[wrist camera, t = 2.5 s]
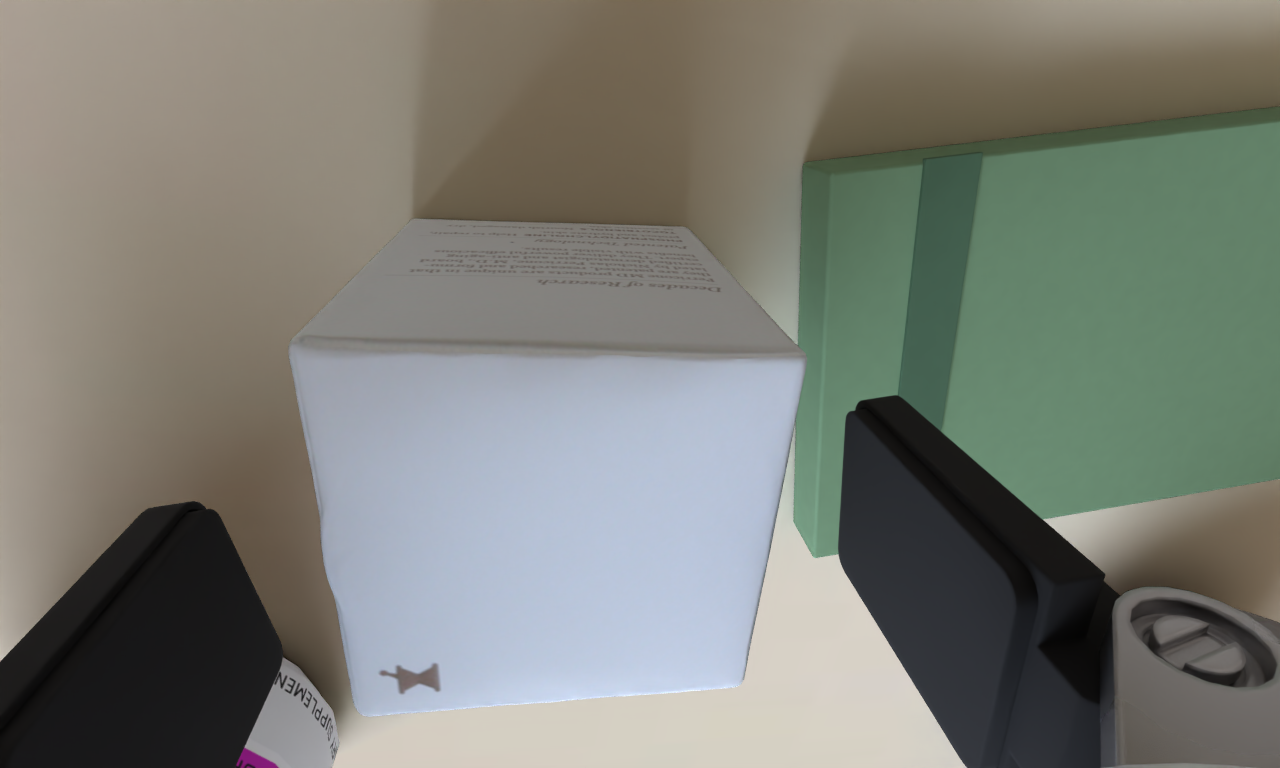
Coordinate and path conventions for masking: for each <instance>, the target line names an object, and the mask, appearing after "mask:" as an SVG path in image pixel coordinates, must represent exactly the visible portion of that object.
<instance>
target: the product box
mask: <svg viewBox="0 0 1280 768" xmlns="http://www.w3.org/2000/svg"><path fill="white" fill-rule="evenodd" d="M288 350H289V360H290V364H291V369H292V373H293V379H294V384H295V390H296V395H297V401H298V406H299V411H300V416H301V421H302V426H303V431H304V436H305V442H306V446H307V451H308V456H309V461H310V466H311V470H312V475H313V481H314V487H315V493H316V499H317V504H318V509H319V516H320V523H321V547H322V554H323V561H324V567H325V571H326V575H327V579H328V581H329V584H330V587H331V589H332V592H333V594H334V597H335V602H336V608H337V613H338V619H339V625H340V631H341V636H342V642H343V648H344V653H345V659H346V664H347V670H348V675H349V680H350V685H351V692H352V698H353V703H354V705H355V707H356V709H357V710H358V712H359V713H360V714H361V715H364V716H383V715H392V714H404V713H419V712H431V711H442V710H455V709H468V708H477V707H488V706H501V705H514V704H530V703H545V702H558V701H568V700H578V699H590V698H601V697H615V696H632V695H645V694H660V693H676V692H685V691H697V690H709V689H720V688H732V687H736V686H739V685H740V684H741V683H742V681H743V680H744V676H745V671H746V666H747V660H748V655H749V649H750V644H751V639H752V634H753V630H754V625H755V620H756V615H757V611H758V606H759V601H760V596H761V591H762V587H763V582H764V577H765V572H766V567H767V562H768V558H769V553H770V548H771V543H772V538H773V533H774V528H775V522H776V517H777V512H778V507H779V502H780V497H781V492H782V487H783V482H784V477H785V472H786V467H787V462H788V457H789V452H790V447H791V442H792V436H793V431H794V426H795V421H796V415H797V410H798V405H799V400H800V394H801V389H802V385H803V380H804V375H805V371H806V365H807V357H806V354H805V352H804V351H803V350H802V349H801V348H800V347H799V346H798V345H797V344H795V343H794V342H793V341H792V340H791V339H790V338H789V337H788V336H787V334H786V333H785V332H784V331H783V330H782V329H781V328H780V327H779V326H778V325H777V324H776V323H775V321H774V320H773V319H772V318H771V317H770V316H769V315H768V314H767V313H766V311H765V310H764V309H763V308H762V307H761V306H760V305H759V304H758V303H757V302H756V301H755V300H754V299H753V297H752V296H751V295H750V294H749V293H748V292H747V291H746V290H745V289H744V288H743V287H742V286H741V284H740V283H739V282H738V281H737V280H736V279H735V278H734V277H733V276H732V275H731V273H730V272H729V271H728V270H727V269H726V268H725V267H724V266H723V265H722V264H721V263H720V262H719V261H718V259H717V258H716V257H715V256H714V255H713V254H712V253H711V252H710V251H709V250H708V249H707V248H706V247H705V245H704V244H703V243H702V242H701V241H700V240H699V239H698V238H697V237H696V236H695V235H694V233H693V232H692V231H691V230H690V229H688V228H686V227H680V226H677V227H676V226H645V225H613V224H580V223H540V222H500V221H474V220H445V219H411V220H410V221H409V222H408V224H407V225H406V226H405V227H404V228H403V229H402V230H400V231H399V232H398V233H397V235H396V236H395V237H394V238H393V239H392V240H390V241H389V242H388V243H387V244H386V245H385V246H384V247H383V248H382V249H381V250H380V251H379V253H377V254H376V255H375V256H374V257H373V258H372V259H371V260H370V261H369V262H368V263H367V264H366V266H364V267H363V268H362V269H361V270H360V271H359V272H358V273H357V275H356V276H355V277H353V278H352V279H351V280H350V281H349V282H348V283H347V284H346V285H345V286H344V287H343V288H342V290H341V291H340V292H339V293H338V294H336V295H335V296H334V297H333V299H332V300H331V301H330V302H329V303H328V304H327V305H326V306H325V307H324V308H323V309H322V310H321V311H320V312H319V313H318V314H317V315H316V316H315V317H314V318H313V319H312V320H311V321H310V322H309V323H308V324H306V326H305V327H304V328H303V329H302V330H301V331H299V332H298V333H297V334H296V335H295V336H294V337H293V338H292V339H291V341H290V344H289V346H288Z"/></svg>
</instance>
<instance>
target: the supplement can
mask: <svg viewBox="0 0 1280 768" xmlns="http://www.w3.org/2000/svg"><path fill="white" fill-rule="evenodd" d="M339 743H340V742H339V738H338V733H337V728H336V723H335V718H334V713H333V710H332V709H331V708H330V706H329V705H328V704H327V703H326V701H325V700H324V699H323V698H322V696H321V695H320V693H319V692H318V690H317V689H316V688H315V687H314V685H313V684H312V683H311V682H310V680H309V679H308V678H307V677H306V675H305V674H304V673H303V672H302V671H301V669H300V668H299V667H298V666H296V665H295V664H293V663H291V662H290V661H288V660H287V659H285V658H283V659H282V665H281V668H280V671H279V673H278V675H277V677H276V679H275V682H274V684H273V686H272V688H271V690H270V692H269V695H268V697H267V699H266V701H265V703H264V706H263V708H262V710H261V712H260V714H259V717H258V719H257V721H256V723H255V725H254V727H253V730H252V732H251V734H250V736H249V738H248V741H247V743H246V745H245V747H244V749H243V752H242V754H241V756H240V758H239V760H238V762H237V765H236V767H235V768H332V766H333V763H334V760H335V756H336V753H337V750H338V747H339Z"/></svg>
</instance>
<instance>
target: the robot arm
mask: <svg viewBox="0 0 1280 768" xmlns="http://www.w3.org/2000/svg"><path fill="white" fill-rule="evenodd" d="M838 553H839V558H840V562H841V565H842V567H843V569H844V571H845V573H846V575H847V576H848V578H849V580H850V581H851V583H852V584H853V586H854V588H855V589H856V591H857V592H858V594H859V596H860V597H861V599H862V601H863V602H864V604H865V605H866V607H867V609H868V610H869V612H870V613H871V615H872V617H873V618H874V620H875V622H876V623H877V625H878V626H879V628H880V630H881V631H882V633H883V635H884V636H885V638H886V639H887V641H888V643H889V644H890V646H891V647H892V649H893V651H894V652H895V654H896V656H897V657H898V659H899V660H900V662H901V664H902V665H903V667H904V668H905V670H906V672H907V673H908V675H909V677H910V678H911V680H912V681H913V683H914V685H915V686H916V688H917V689H918V691H919V693H920V694H921V696H922V698H923V699H924V701H925V702H926V704H927V706H928V707H929V709H930V710H931V712H932V714H933V715H934V717H935V719H936V720H937V722H938V723H939V725H940V727H941V728H942V730H943V731H944V733H945V735H946V736H947V738H948V740H949V741H950V743H951V744H952V746H953V748H954V749H955V751H956V753H957V754H958V756H959V757H960V759H961V760H962V762H963V763H964V764H965V766H966V767H967V768H1280V640H1279V639H1278V638H1277V637H1276V636H1275V635H1274V634H1273V633H1272V632H1271V631H1270V630H1269V629H1267V628H1266V627H1264V626H1263V625H1261V624H1260V623H1258V622H1257V621H1255V620H1254V619H1252V618H1251V617H1249V616H1248V615H1247V614H1245V613H1243V612H1241V611H1239V610H1237V609H1235V608H1233V607H1231V606H1229V605H1227V604H1225V603H1223V602H1221V601H1218V600H1215V599H1212V598H1210V597H1207V596H1204V595H1201V594H1198V593H1195V592H1192V591H1186V590H1181V589H1175V588H1170V587H1141V588H1138V589H1134V590H1130V591H1126V592H1125V593H1124V594H1123V595H1122V596H1120V595H1119V594H1118V593H1116V592H1115V591H1114V590H1113V589H1112V588H1111V587H1110V586H1109V585H1107V584H1106V583H1105V582H1104V578H1105V573H1104V572H1102V571H1101V570H1100V569H1099V568H1098V567H1097V566H1095V565H1094V564H1093V563H1092V562H1091V561H1090V560H1089V559H1087V558H1086V557H1085V556H1084V555H1083V554H1082V553H1080V552H1079V551H1078V550H1077V549H1076V548H1075V547H1074V546H1072V545H1071V544H1070V543H1069V542H1068V541H1067V540H1066V539H1064V538H1063V537H1062V536H1061V535H1060V534H1059V533H1057V532H1056V531H1055V530H1054V529H1053V528H1052V527H1051V526H1049V525H1048V524H1047V523H1046V522H1045V521H1044V520H1042V519H1041V518H1040V517H1039V516H1038V515H1037V514H1036V513H1034V512H1033V511H1032V510H1031V509H1030V508H1029V507H1027V506H1026V505H1025V504H1024V503H1023V502H1022V501H1021V500H1019V499H1018V498H1017V497H1016V496H1015V495H1014V494H1012V493H1011V492H1010V491H1009V490H1008V489H1007V488H1006V487H1004V486H1003V485H1002V484H1001V483H1000V482H999V481H998V480H996V479H995V478H994V477H993V476H992V475H991V474H989V473H988V472H987V471H986V470H985V469H984V468H983V467H981V466H980V465H979V464H978V463H977V462H976V461H974V460H973V459H972V458H971V457H970V456H969V455H968V454H966V453H965V452H964V451H963V450H962V449H961V448H959V447H958V446H957V445H956V444H955V443H954V442H953V441H951V440H950V439H949V438H948V437H947V436H946V435H945V434H943V433H942V432H941V431H940V430H939V429H938V428H936V427H935V426H934V425H933V424H932V423H931V422H930V421H928V420H927V419H926V418H925V417H924V416H923V415H921V414H920V413H919V412H918V411H917V410H916V409H915V408H913V407H912V406H911V405H910V404H909V403H908V402H906V401H905V400H904V399H903V398H902V397H900V396H898V395H893V396H886V397H879V398H873V399H866V400H861V401H859V402H858V403H857V406H856V408H855V411H850V412H848V413H847V416H846V420H845V435H844V452H843V469H842V486H841V503H840V520H839V537H838ZM282 659H283V650H282V645H281V642H280V639H279V637H278V635H277V633H276V631H275V629H274V627H273V625H272V623H271V621H270V619H269V617H268V615H267V613H266V610H265V608H264V606H263V604H262V602H261V600H260V598H259V596H258V594H257V592H256V590H255V588H254V586H253V584H252V581H251V579H250V577H249V575H248V573H247V571H246V569H245V567H244V565H243V563H242V561H241V559H240V557H239V555H238V553H237V550H236V548H235V546H234V544H233V542H232V540H231V538H230V536H229V534H228V532H227V530H226V528H225V526H224V524H223V522H222V519H221V518H220V516H219V514H218V513H217V512H216V511H214V510H211V509H206V508H205V506H203V505H202V504H201V503H199V502H195V501H192V502H185V503H179V504H172V505H165V506H159V507H153V508H149V509H147V510H145V511H144V512H143V513H141V514H140V515H139V516H138V517H137V519H136V520H135V521H134V522H133V523H132V524H131V525H130V526H129V527H128V528H127V529H126V530H125V531H124V532H123V533H122V534H121V535H120V536H119V537H118V539H117V540H116V541H115V542H114V543H113V544H112V545H111V546H110V547H109V548H108V549H107V550H106V551H105V552H104V553H103V554H102V555H101V556H100V557H99V558H98V560H97V561H96V562H95V563H94V564H93V565H92V566H91V567H90V568H89V569H88V570H87V571H86V572H85V573H84V574H83V575H82V576H81V577H80V578H79V580H78V581H77V582H76V583H75V584H74V585H73V586H72V587H71V588H70V589H69V590H68V591H67V592H66V593H65V594H64V595H63V596H62V597H61V598H60V600H59V601H58V602H57V603H56V604H55V605H54V606H53V607H52V608H51V609H50V610H49V611H48V612H47V613H46V614H45V615H44V616H43V617H42V618H41V619H40V621H39V622H38V623H37V624H36V625H35V626H34V627H33V628H32V629H31V630H30V631H29V632H28V633H27V634H26V635H25V636H24V637H23V638H22V639H21V641H20V642H19V643H18V644H17V645H16V646H15V647H14V648H13V649H12V650H11V651H10V652H9V653H8V654H7V655H6V656H5V657H4V658H3V659H2V660H1V662H0V768H235V767H236V765H237V762H238V760H239V758H240V756H241V754H242V752H243V749H244V747H245V745H246V743H247V741H248V738H249V736H250V734H251V732H252V730H253V727H254V725H255V723H256V721H257V719H258V717H259V714H260V712H261V710H262V708H263V706H264V703H265V701H266V699H267V697H268V695H269V692H270V690H271V688H272V686H273V684H274V682H275V679H276V677H277V675H278V673H279V671H280V668H281V665H282Z"/></svg>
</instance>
